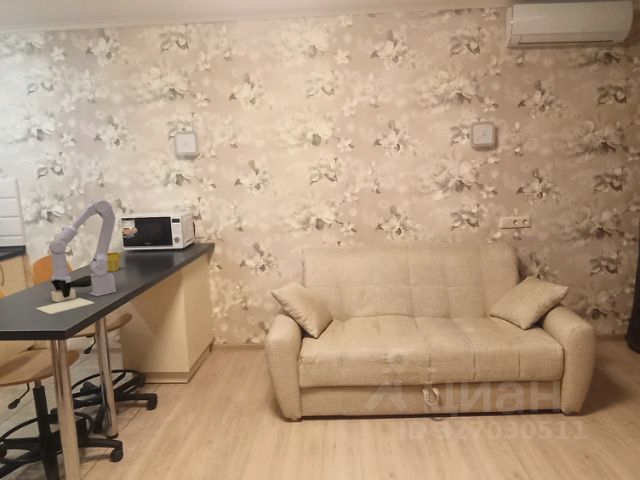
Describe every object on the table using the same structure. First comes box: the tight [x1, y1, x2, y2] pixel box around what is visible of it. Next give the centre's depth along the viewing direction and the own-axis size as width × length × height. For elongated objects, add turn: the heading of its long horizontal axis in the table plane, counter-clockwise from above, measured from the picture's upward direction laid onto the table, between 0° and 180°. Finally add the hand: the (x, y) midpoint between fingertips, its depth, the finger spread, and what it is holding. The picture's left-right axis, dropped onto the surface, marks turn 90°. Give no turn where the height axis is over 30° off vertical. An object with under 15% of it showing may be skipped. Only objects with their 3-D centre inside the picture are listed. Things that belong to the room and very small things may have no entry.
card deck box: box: [51, 287, 77, 303], centre depth 208 cm, size 8×5×4 cm, turn 140°
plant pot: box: [107, 251, 122, 273], centre depth 267 cm, size 10×10×10 cm
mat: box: [35, 297, 95, 316], centre depth 198 cm, size 18×14×1 cm
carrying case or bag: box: [71, 275, 92, 288], centre depth 238 cm, size 11×3×15 cm
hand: (63, 296), depth 208 cm, fingers closed on card deck box, 5 cm apart
